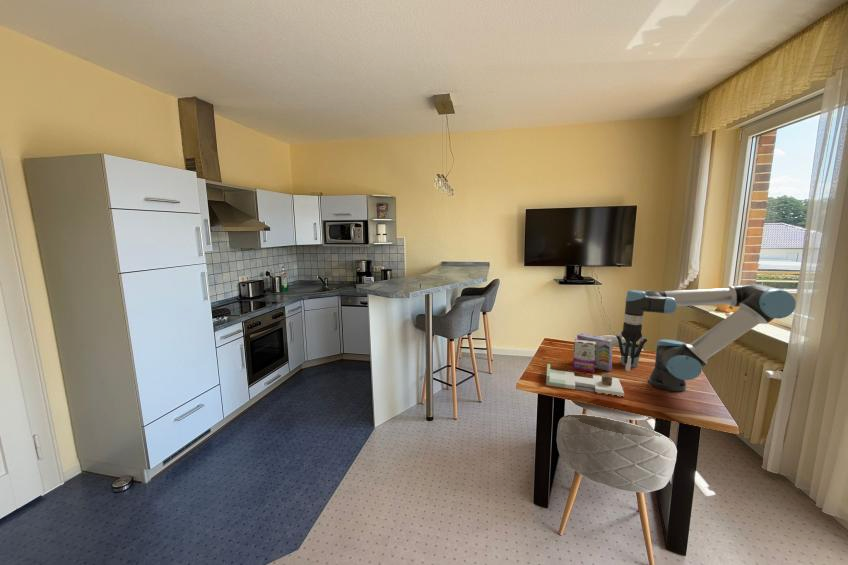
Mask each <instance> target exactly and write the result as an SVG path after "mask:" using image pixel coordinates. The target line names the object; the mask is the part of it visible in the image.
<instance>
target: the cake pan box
mask: <svg viewBox="0 0 848 565" xmlns="http://www.w3.org/2000/svg"><path fill="white" fill-rule="evenodd" d="M576 336H577V338H576V339H578V340H586V341H594V342H596V359H595V369H599V370H602V371H607V372H609V371H611V370H612V368H613V364H612V362H613V341H614V340H613V339H609V338H606V337H601V336H598V335H594V334H588V333H582V332H579V333H578V334H577V335H576Z"/></svg>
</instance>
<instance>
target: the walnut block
mask: <svg viewBox="0 0 848 565" xmlns="http://www.w3.org/2000/svg"><path fill="white" fill-rule="evenodd" d="M601 376H602V380H601V381H602V384H603V385H610V386H612V378H613V377H612V374H607V373H602V374H601Z"/></svg>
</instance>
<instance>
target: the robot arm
mask: <svg viewBox="0 0 848 565" xmlns="http://www.w3.org/2000/svg"><path fill="white" fill-rule="evenodd" d="M715 305H716V306H721V305H724V306H725V305H728V306H730V307H731V308H732V307H734V308H735V307H737V308H738V307H739V308H738V309H737V310H736V311H734V312H733V313H732V314H729V316H727V317H725V318H724V319H723V320H721V321H720V322H718V323H717V324H716V325H715V326H713V327H711V328H710V329H709V330H708V331H706V332H704V334H702V335H700V336H699V337H698V338H697V339H695V340H694V341H692V342H691V343H686V342H683V341H680V340H676V339H675V340H674V339H659V340H658V341H657V342H656V352H655V353H656V354H655V360H654V368H653V370H652V372H651V373H650V375H649V378H648V381H649V383H650V384H651V385H652V386H654V387H656V388H659V389H662V390H665V391H671V392H683V391H685V390H686V389H687V383H686V381H692V380H695V379H696V378H698V377H699V376H700V375H701V373H702V370H703V368H704V367H706V366H707V365H708V359H710V358H711V357H712V356H714V355H715V354H717V353H718V352H720V351H722V350H723V349H725V348H726V347H727V346H729V345H730V344H731V343H733V342H735V341H736V340H737V339H739V338H740V337H742V336H743V335H745V334H746V333H748V332H749V331H750V330H752V329H754V328H755V327H756V326H758V325H763V324H765V325H767V324H769V323H770V322H771V321H773V320H775V319H785V318H787V317H789V316H790V315H792V314H793V313H794V311H795V309H796V307H797V306H796V299H795V296H793V295H792V294H791V293H790V292H789V291H786V290H784V289H782V288H779V287H773V286H769V285H766V284H760V283H754V284H753V283H752V284H740V285H739V284H738V285H729V286H727V287H726V288H707V289H704V288H703V289H685V290H684V289H682V290H680V289H679V290H663V291H662V290H661V291H660V290H659V291H655V290H651V289H650V290H646V291H644V290H639V289H638V290H637V289H636V290H635V289H630V290H628V291H627V292H626V299H625V307H624V308H625V309H624V317H623V321H624V322H623V325H622V326H623V327H622V331H621V333H620V334H615V338H616V339H617V343H618V347H619V352H620V356H621V355H622V356H624V363H626V366H625V371H627V372H631V368H632V367H631V364H633V363H634V358H635V357H637V358H638V357H639V358H640V354H641V353H642V351H643V348H644V346H645V344H646V343H647V341H648V339H647V338H646V337H644V336H643V333H642V331H643V330H642V329H643V321H644V313H645V312H647V313H656V314H657V313H658V314H674V313H675V312H676V309H677V307H685V306H686V307H688V306H692V307H693V306H694V307H695V306H715ZM622 338H623V340H625V342H626V344H625V353H624V352H623V346H622ZM638 341H640V342H639V343H638V344H639V346H638V348H637V350H636V353H635V347H636V344H637V342H638ZM630 342H632V346H631V357H630V356H628V353H629V344H630Z"/></svg>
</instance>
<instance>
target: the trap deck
mask: <svg viewBox="0 0 848 565" xmlns="http://www.w3.org/2000/svg"><path fill="white" fill-rule="evenodd" d="M546 366H547V367H546V379H545V382H546V383H545V385H546V386H551V387H557V388H562V389H563V388H564V389H570V390H575V389H576V390H577V391H582V392H587V393H588V392H590V393H595V392H597V393H596V394H601V393H605V394H604V395H608V394H612V395H611V396H614V395H617V397H621V396H623V397H622V398H624V396H625V392H624V389H623V386H622V384H621V381H620V378H616V377H612V386H610V385H603V384H602V381H601V380H602V375H592V377H588V376H587V377H586V376H582V375H581V376H579V375H575V372H573V371H566V370H557V369H552V368H551V363H547V365H546Z"/></svg>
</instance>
